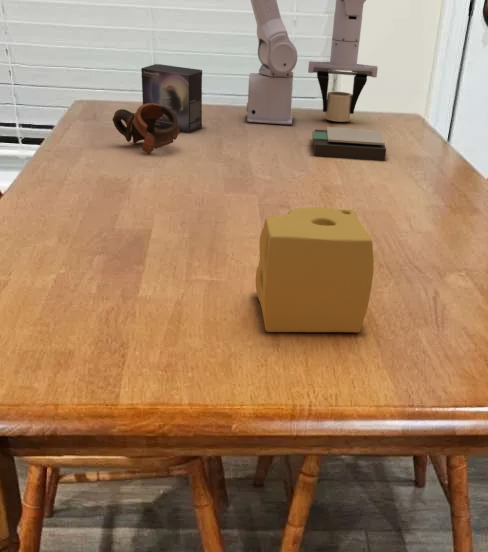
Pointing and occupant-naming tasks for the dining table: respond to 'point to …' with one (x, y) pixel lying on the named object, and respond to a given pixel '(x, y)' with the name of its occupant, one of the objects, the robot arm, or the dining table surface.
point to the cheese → (314, 271)
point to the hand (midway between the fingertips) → (338, 112)
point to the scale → (349, 143)
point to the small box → (174, 94)
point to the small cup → (338, 106)
